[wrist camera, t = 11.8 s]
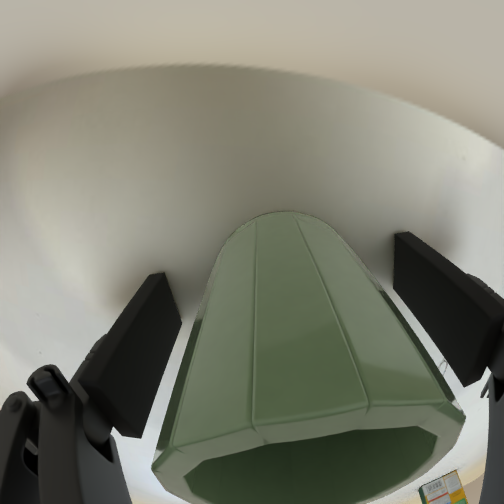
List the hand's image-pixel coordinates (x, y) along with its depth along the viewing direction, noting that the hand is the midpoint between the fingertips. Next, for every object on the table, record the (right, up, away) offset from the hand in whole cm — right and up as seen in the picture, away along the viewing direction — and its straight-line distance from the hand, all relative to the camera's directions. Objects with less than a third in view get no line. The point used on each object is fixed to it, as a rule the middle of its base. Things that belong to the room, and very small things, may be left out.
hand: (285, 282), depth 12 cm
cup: (0, 0, 0) cm, 0 cm away
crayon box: (+31, -39, +15) cm, 52 cm away
